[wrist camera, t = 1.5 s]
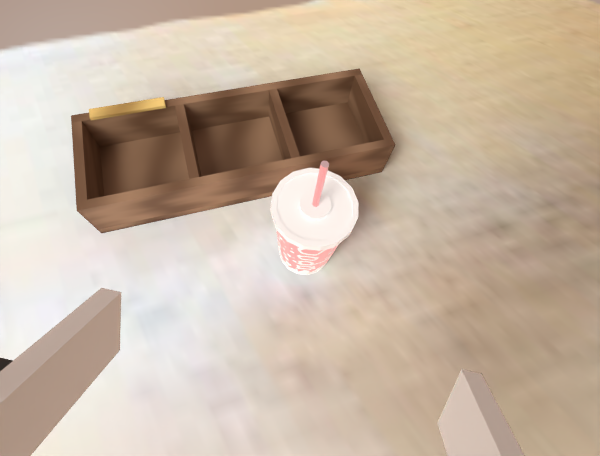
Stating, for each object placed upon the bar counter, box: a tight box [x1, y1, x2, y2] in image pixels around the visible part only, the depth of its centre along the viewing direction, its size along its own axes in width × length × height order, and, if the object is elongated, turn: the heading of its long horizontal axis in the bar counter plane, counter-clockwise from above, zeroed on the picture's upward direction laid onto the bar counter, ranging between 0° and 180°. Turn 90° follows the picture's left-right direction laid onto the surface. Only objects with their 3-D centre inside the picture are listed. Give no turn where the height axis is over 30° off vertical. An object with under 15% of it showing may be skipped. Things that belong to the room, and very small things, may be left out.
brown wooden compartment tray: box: [71, 69, 395, 233], centre depth 34 cm, size 27×10×5 cm, turn 106°
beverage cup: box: [271, 161, 358, 275], centre depth 27 cm, size 6×6×14 cm
